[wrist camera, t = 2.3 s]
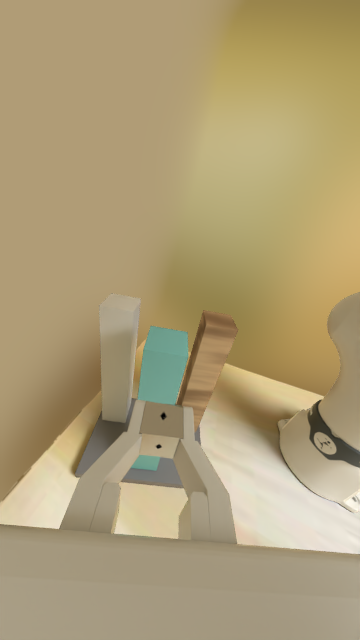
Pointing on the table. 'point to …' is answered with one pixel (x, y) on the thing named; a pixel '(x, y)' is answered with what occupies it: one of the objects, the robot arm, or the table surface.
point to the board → (164, 475)
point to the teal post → (161, 375)
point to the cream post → (118, 354)
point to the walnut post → (206, 361)
